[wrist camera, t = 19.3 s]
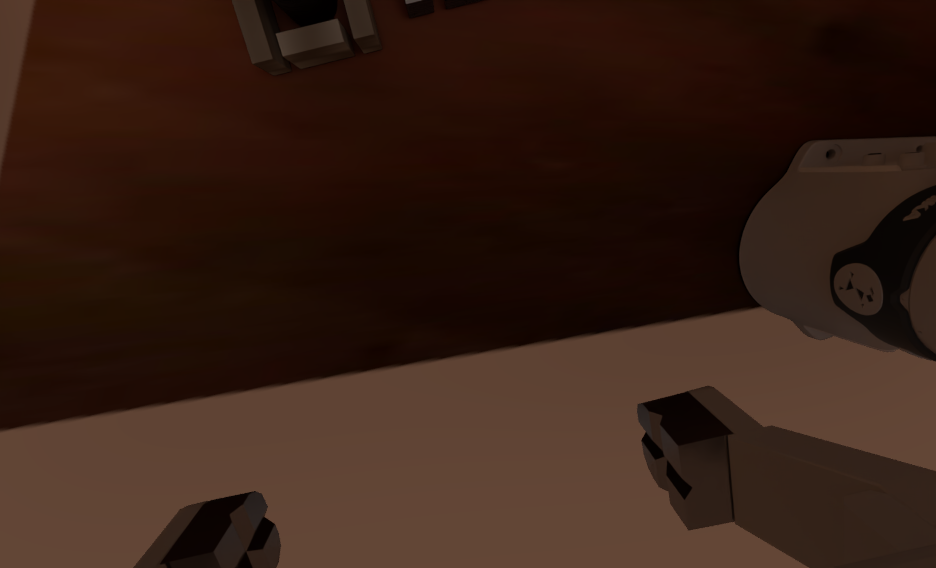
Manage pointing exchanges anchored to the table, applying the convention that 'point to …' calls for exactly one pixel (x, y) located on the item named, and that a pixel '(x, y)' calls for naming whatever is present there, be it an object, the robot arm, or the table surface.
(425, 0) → the socket
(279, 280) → the table surface
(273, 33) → the rack
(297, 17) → the dark rounded handle
